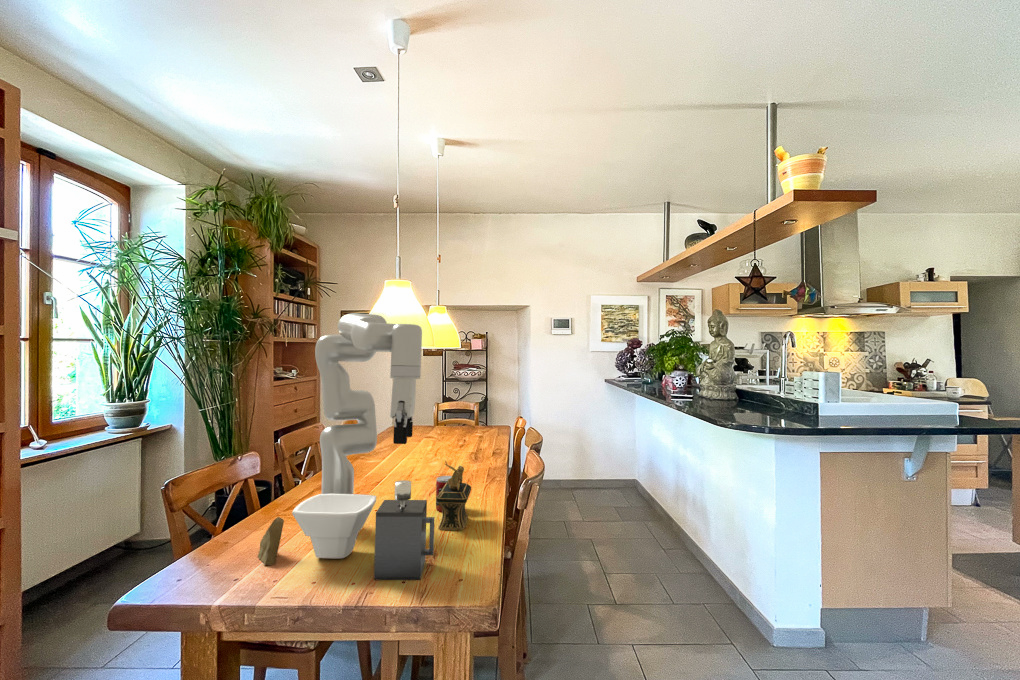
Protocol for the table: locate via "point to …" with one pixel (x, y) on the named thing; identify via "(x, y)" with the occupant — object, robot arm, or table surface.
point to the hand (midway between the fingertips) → (403, 440)
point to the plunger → (402, 491)
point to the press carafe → (402, 540)
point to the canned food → (440, 488)
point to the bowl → (333, 521)
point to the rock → (271, 542)
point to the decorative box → (454, 501)
